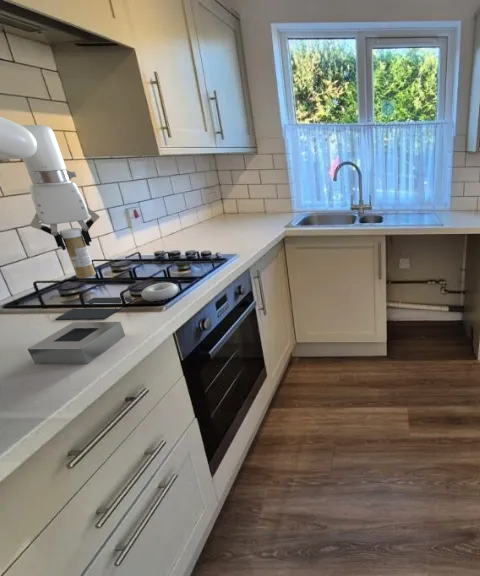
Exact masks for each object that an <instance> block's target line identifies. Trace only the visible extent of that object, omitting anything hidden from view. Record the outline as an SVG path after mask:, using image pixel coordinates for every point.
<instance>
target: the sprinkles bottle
mask: <svg viewBox="0 0 480 576" xmlns="http://www.w3.org/2000/svg"><path fill="white" fill-rule="evenodd" d="M59 234H60V235H61V237H62V240H63V242H64V245H65V248H66V249H65V250H66V252H67V254H68V257H69V259H70V260H69V261H70V262H71V265H72V267H73V270H74V271H75V277H76V278H77V279H86V278H87V279H88V278H91V277H94V276H96V274H97V272H96V270H95V268H94V265H93V262H92V258H91V255H90V252H89V250H88V246H87V245H86V244H85V241H84V238H83V234H82V229H81V228H79V227H71V228H66V229H61V230H59Z"/></svg>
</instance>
